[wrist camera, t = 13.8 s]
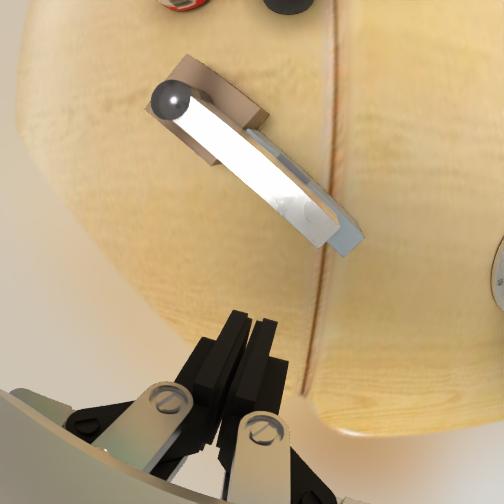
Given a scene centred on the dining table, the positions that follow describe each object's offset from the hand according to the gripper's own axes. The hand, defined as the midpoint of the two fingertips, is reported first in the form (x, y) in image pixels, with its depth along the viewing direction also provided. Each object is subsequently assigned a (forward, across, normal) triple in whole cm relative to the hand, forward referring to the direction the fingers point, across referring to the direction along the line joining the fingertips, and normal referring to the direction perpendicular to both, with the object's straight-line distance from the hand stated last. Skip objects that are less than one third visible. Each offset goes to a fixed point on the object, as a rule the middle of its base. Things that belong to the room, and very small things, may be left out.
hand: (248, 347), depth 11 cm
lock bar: (+14, +4, -6) cm, 15 cm away
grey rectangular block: (+20, 0, -3) cm, 20 cm away
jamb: (+20, +9, -9) cm, 23 cm away
